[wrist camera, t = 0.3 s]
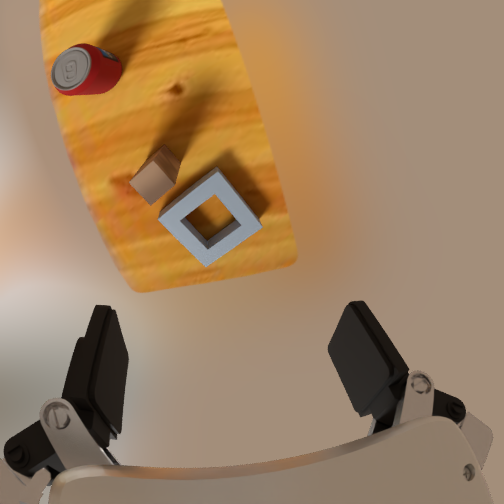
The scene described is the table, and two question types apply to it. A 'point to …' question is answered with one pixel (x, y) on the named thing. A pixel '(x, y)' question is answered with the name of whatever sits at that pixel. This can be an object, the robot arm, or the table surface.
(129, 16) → the table surface
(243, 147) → the table surface
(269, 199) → the table surface
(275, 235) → the table surface
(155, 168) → the walnut peg
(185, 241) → the grey square frame
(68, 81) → the beverage can
